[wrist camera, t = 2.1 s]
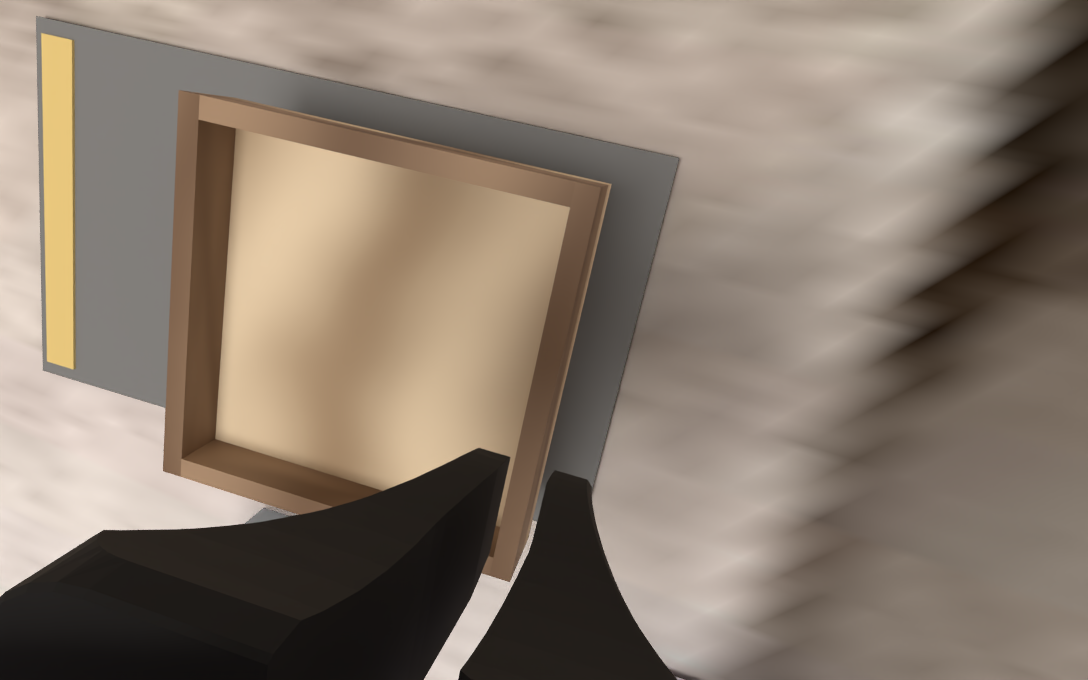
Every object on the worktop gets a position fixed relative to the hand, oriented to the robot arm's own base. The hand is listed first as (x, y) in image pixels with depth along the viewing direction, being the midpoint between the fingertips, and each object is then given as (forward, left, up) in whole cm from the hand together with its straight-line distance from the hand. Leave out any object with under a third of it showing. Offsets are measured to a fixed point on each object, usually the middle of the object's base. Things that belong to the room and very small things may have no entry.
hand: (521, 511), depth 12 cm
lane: (+10, 0, -10) cm, 14 cm away
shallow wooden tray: (+6, 0, -10) cm, 12 cm away
